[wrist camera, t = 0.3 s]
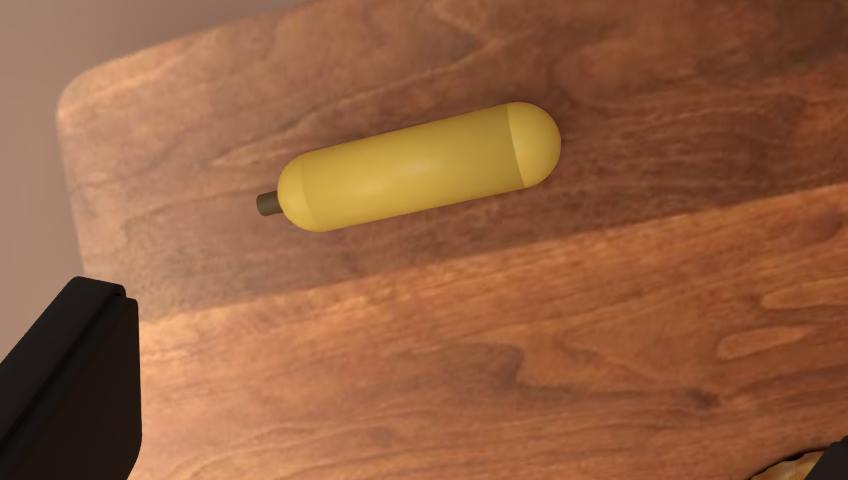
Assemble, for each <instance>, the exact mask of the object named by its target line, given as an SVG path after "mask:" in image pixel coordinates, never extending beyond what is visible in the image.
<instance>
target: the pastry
mask: <svg viewBox="0 0 848 480" xmlns="http://www.w3.org/2000/svg"><path fill="white" fill-rule="evenodd" d="M824 452H825V451H818V452H812V453H805V454H804V456H803V457H802V458H800V459H798V460H795V461H790V462H787V461H783V462H781V463H779V464H777V465H775V466H773V467H770V468H768V469H767V471H765V472H764V473H762V474H759V475H757V476H754V475H753V478H752V479H751V480H804V479H805V477H806V476H807V475H808V473H809V472H810V471H811V469H812V468H813V467H814V465H815V464H816V462H817V461H818V460H819V458H820V457H821V456H822V454H823V453H824Z"/></svg>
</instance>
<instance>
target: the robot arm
mask: <svg viewBox="0 0 848 480" xmlns="http://www.w3.org/2000/svg"><path fill="white" fill-rule="evenodd" d="M141 442H142V419H141V385H140V351H139V317H138V303H137V301H136V300H135V299H132V298H127V297H126V291H125V289H124V287H123V286H122V285H120V284H115V283H110V282H105V281H100V280H95V279H90V278H85V277H80V276H77V277H74V278H73V279H72V280H70V282H68V283H67V285H66V286H65V287H64V288H63V289H62V291H61V292H60V293H59V294H58V295H57V297H56V298H55V299H54V300H53V301H52V303H51V304H50V305H49V306H48V307H47V308H46V310H45V311H44V312H43V313H42V314H41V316H40V317H39V318H38V319H37V320H36V322H35V323H34V324H33V325H32V326H31V328H30V329H29V330H28V331H27V333H26V334H25V335H24V336H23V337H22V338H21V340H20V341H19V342H18V343H17V344H16V346H15V347H14V348H13V349H12V350H11V351H10V353H9V354H8V355H7V356H6V358H5V359H4V360H3V361H2V362H1V363H0V480H127V478H128V477H129V475H130V473H131V471H132V469H133V467H134V465H135V463H136V460H137V458H138V455H139V451H140V447H141ZM804 480H848V435H847V436H845V437H844V438H843V439H842V440H841V441H840V442H834V443H832V444H831V445H830V446H829V447H828V448H827V449H826V450H825V452H824V453H823V454H822V456H821V457H820V458H819V460H818V461H817V462H816V464H815V465H814V467H813V468H812V469H811V471H810V472H809V473H808V475H807V476H806V477H805V479H804Z"/></svg>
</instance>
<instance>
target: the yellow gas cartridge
mask: <svg viewBox="0 0 848 480" xmlns="http://www.w3.org/2000/svg"><path fill="white" fill-rule="evenodd" d="M560 152H561V137H560V133H559V130H558V127H557V125H556V123H555V122H554V120H553V119H552V118H551V116H550V115H549V114H548V113H547V112H545V111H544V110H543V109H541V108H539V107H537V106H535V105H533V104H530V103H526V102H512V103H506V104H502V105H498V106H494V107H490V108H486V109H481V110H477V111H473V112H469V113H465V114H461V115H457V116H453V117H449V118H445V119H441V120H437V121H432V122H428V123H424V124H420V125H416V126H412V127H408V128H404V129H400V130H396V131H392V132H387V133H383V134H379V135H375V136H371V137H367V138H363V139H359V140H355V141H351V142H347V143H343V144H338V145H334V146H330V147H326V148H322V149H318V150H314V151H310V152H306V153H304V154H301V155H299V156H297V157H296V158H294V159H293V160H291V161H290V162H289V163H288V164H287V165H286V167H285V168H284V170H283V172H282V173H281V176H280V179H279V182H278V191H273V192H269V193H265V194H261V195H259V196H258V197H257V208H258V210H259V212H260V214H261V215H262V216H268V215H273V214H277V213H282V212H284V214H285V215H286V217H287V218H288V219H289V220H290V221H292V222H293V223H294V224H295V225H297V226H299V227H301V228H302V229H305V230H308V231H316V232H323V231H329V230H334V229H339V228H343V227H348V226H352V225H357V224H362V223H366V222H371V221H376V220H380V219H385V218H389V217H394V216H399V215H403V214H408V213H413V212H417V211H422V210H426V209H431V208H436V207H440V206H445V205H450V204H454V203H459V202H463V201H468V200H473V199H477V198H482V197H486V196H491V195H496V194H500V193H505V192H510V191H514V190H519V189H523V188H527V187H531V186H534V185H536V184H538V183H539V182H541V181H543V180H544V179H545V178H546V177H547V176H548V175H549V174H550V173H551V172H552V171H553V169H554V168H555V166H556V164H557V162H558V159H559V156H560Z"/></svg>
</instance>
